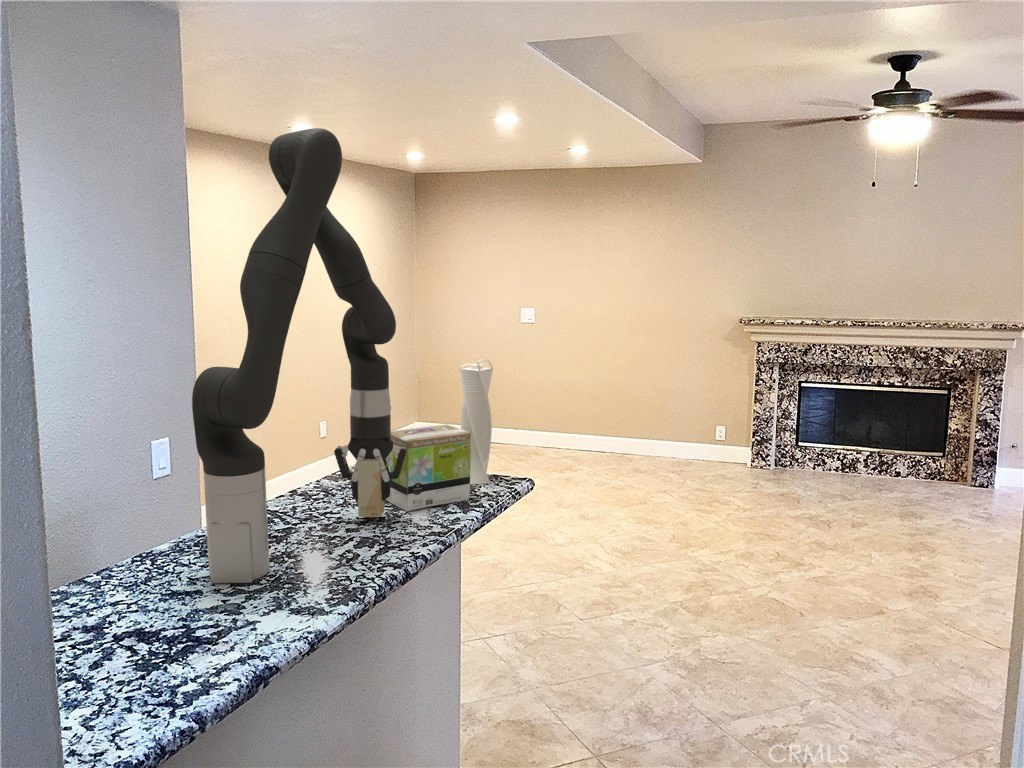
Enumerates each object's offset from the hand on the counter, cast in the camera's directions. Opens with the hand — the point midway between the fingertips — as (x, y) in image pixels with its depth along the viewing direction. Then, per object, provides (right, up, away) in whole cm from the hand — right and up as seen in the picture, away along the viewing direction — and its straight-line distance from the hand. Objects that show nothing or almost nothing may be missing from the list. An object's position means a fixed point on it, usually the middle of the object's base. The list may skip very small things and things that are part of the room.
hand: (371, 499), depth 159 cm
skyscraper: (+19, 0, +28) cm, 33 cm away
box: (0, -3, 0) cm, 3 cm away
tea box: (+9, -2, +13) cm, 17 cm away
